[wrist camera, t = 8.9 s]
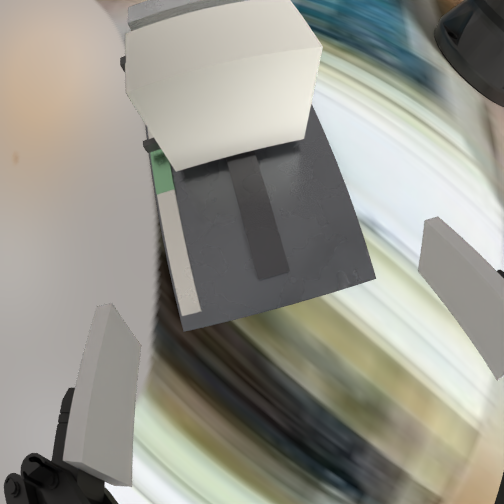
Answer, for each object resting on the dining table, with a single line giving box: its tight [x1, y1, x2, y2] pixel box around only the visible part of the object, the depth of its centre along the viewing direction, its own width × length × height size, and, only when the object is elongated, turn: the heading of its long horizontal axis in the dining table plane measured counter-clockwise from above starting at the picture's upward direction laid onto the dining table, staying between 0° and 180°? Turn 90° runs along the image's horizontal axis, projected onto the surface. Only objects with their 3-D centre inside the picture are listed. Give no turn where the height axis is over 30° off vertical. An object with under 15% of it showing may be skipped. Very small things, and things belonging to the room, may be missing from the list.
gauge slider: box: [120, 0, 323, 172], centre depth 16 cm, size 5×11×9 cm, turn 105°
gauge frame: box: [128, 0, 376, 331], centre depth 18 cm, size 22×13×10 cm, turn 15°
